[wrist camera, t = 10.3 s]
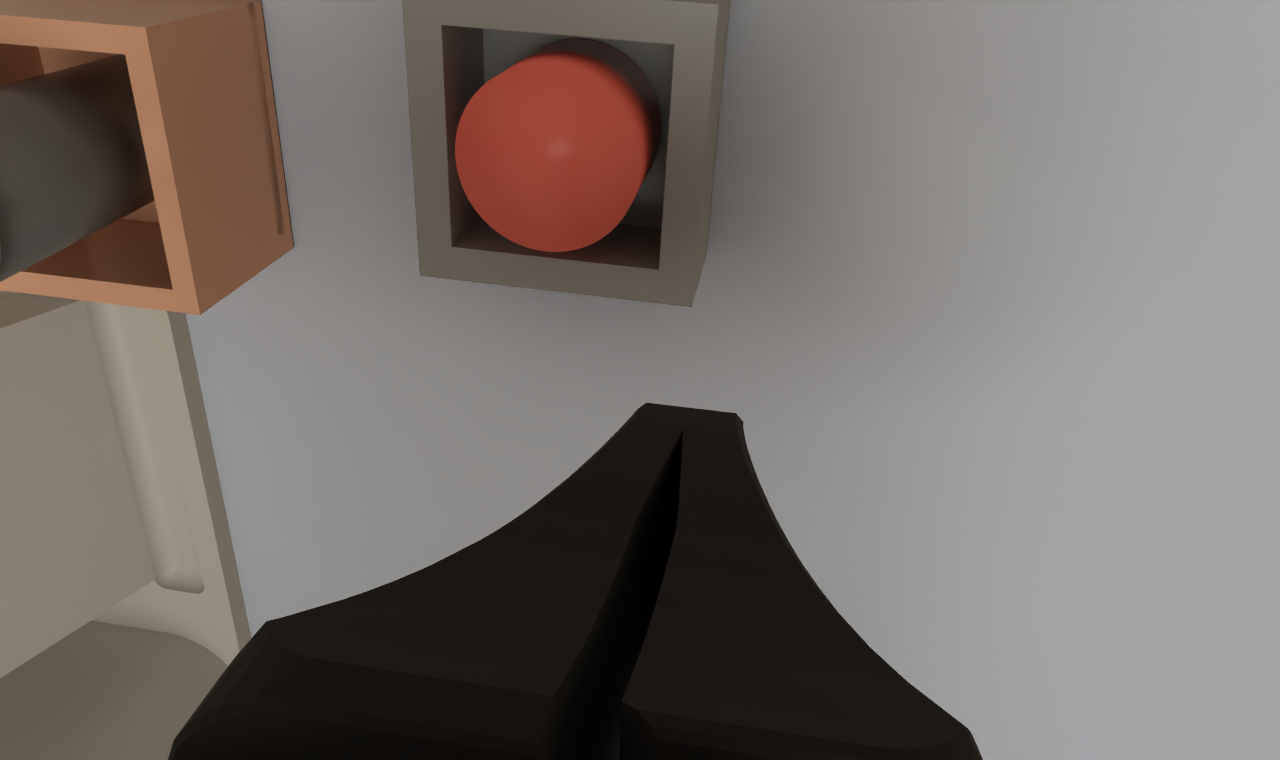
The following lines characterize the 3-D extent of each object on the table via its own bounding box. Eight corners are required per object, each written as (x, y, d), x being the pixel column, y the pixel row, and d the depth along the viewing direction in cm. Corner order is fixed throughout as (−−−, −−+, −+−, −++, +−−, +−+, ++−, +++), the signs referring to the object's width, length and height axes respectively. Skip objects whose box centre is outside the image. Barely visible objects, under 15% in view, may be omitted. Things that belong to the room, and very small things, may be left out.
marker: (112, 199, 22) (-192, 348, 15) (55, 58, 21) (-312, 150, 14) (236, 184, 21) (-20, 332, 14) (185, 39, 20) (-125, 125, 13)
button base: (706, 253, 21) (691, 307, 18) (466, 227, 22) (419, 275, 19) (731, -14, 18) (718, 4, 16) (457, -35, 19) (401, -21, 16)
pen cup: (293, 247, 23) (200, 314, 19) (81, 223, 23) (-46, 284, 20) (260, 0, 20) (145, 27, 16) (22, -19, 21) (-138, 2, 17)
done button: (656, 212, 20) (633, 261, 17) (501, 196, 20) (458, 242, 18) (666, 46, 18) (644, 73, 16) (499, 32, 19) (450, 56, 16)
